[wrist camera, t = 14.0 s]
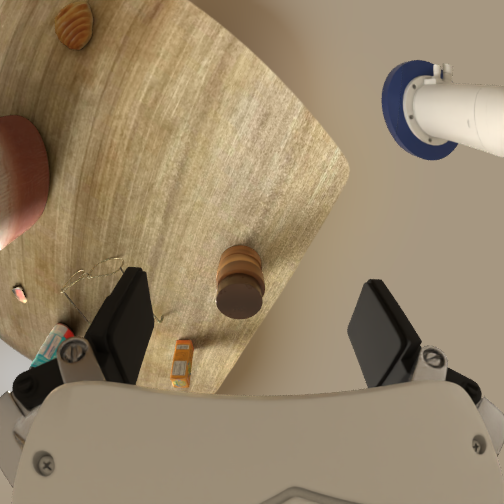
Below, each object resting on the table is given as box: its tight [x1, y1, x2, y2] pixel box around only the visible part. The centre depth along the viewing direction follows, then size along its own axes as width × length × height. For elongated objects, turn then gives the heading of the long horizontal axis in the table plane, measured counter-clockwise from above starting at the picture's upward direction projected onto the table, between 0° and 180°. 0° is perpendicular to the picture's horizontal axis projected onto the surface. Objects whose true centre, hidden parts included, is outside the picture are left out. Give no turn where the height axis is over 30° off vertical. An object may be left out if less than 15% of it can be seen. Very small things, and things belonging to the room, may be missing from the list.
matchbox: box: [12, 287, 26, 303], centre depth 45 cm, size 5×5×1 cm
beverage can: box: [29, 323, 74, 370], centre depth 44 cm, size 6×6×15 cm
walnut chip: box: [216, 273, 262, 319], centre depth 36 cm, size 6×6×2 cm
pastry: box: [54, 0, 94, 50], centre depth 21 cm, size 9×7×4 cm
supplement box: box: [170, 340, 194, 388], centre depth 47 cm, size 3×3×10 cm
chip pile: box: [216, 245, 265, 297], centre depth 40 cm, size 7×7×7 cm
